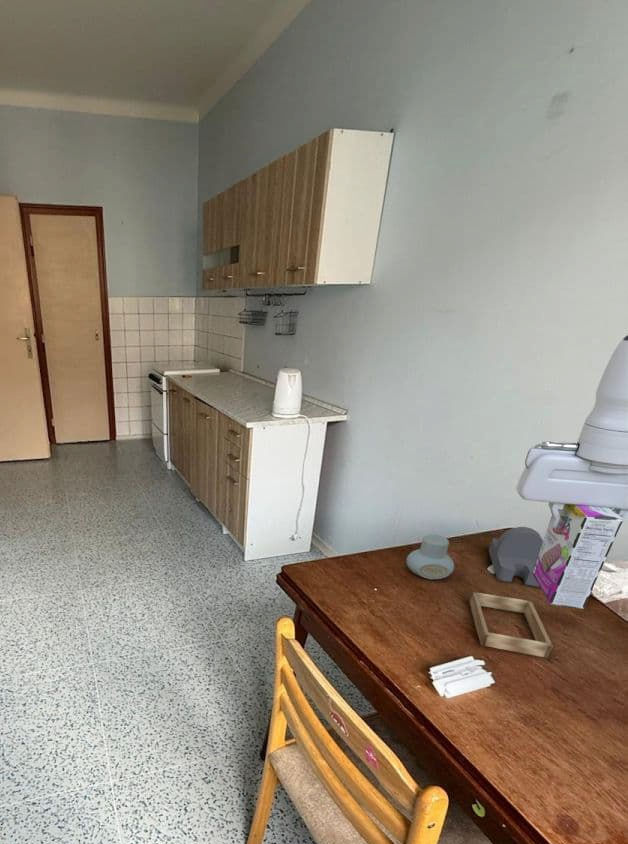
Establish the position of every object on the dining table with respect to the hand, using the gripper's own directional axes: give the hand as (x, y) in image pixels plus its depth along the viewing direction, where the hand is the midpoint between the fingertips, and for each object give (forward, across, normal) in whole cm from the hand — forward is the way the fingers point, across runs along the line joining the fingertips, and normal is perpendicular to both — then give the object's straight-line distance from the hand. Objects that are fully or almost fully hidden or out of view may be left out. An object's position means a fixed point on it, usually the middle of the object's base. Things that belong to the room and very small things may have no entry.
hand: (579, 529), depth 76 cm
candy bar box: (+12, 0, 0) cm, 12 cm away
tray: (+30, 0, +14) cm, 33 cm away
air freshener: (+30, -14, +34) cm, 47 cm away
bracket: (+30, +7, +45) cm, 54 cm away
